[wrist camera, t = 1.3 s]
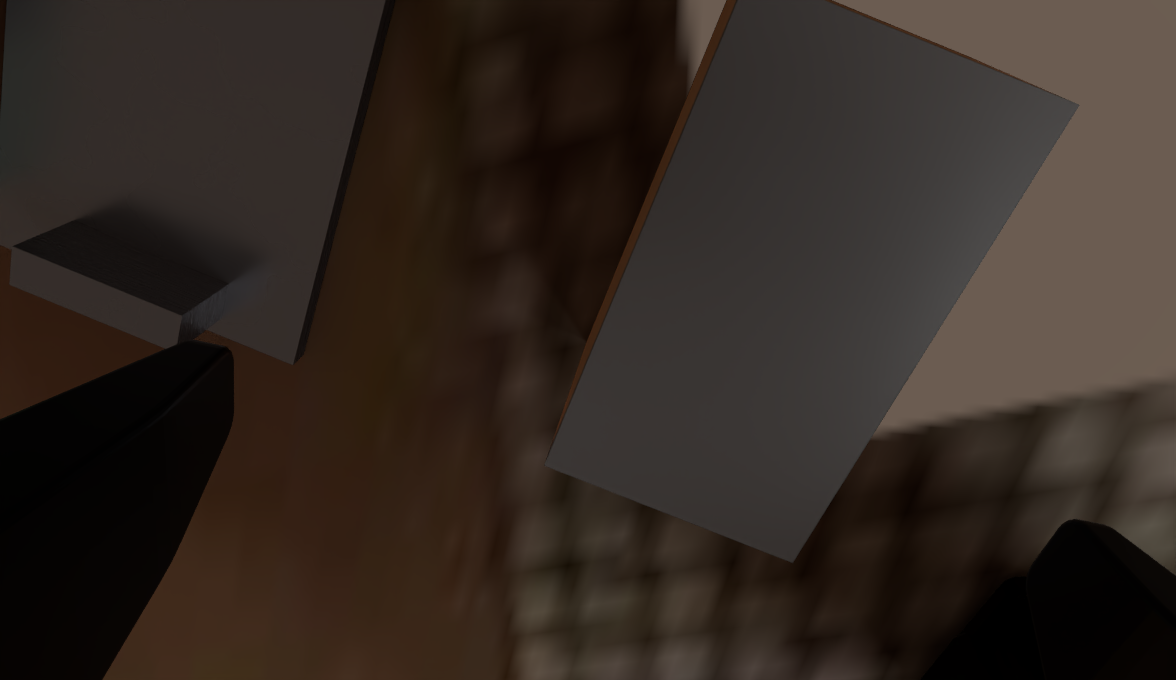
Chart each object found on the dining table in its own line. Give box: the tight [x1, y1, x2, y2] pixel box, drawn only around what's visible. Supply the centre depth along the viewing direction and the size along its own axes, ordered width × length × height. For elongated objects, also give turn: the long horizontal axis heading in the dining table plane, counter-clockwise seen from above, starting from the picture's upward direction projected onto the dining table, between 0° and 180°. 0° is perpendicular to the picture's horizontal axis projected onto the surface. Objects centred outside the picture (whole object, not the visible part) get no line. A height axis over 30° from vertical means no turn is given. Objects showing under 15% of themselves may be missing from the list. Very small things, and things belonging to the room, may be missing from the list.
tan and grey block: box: [544, 0, 1079, 563], centre depth 16 cm, size 5×9×6 cm, turn 160°
